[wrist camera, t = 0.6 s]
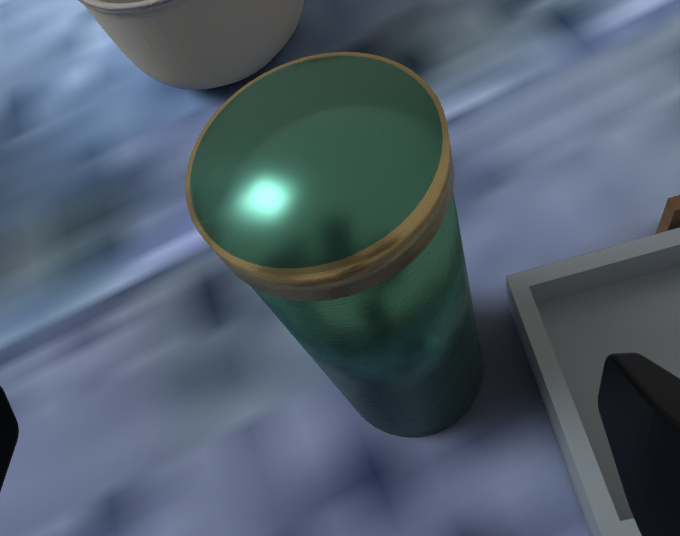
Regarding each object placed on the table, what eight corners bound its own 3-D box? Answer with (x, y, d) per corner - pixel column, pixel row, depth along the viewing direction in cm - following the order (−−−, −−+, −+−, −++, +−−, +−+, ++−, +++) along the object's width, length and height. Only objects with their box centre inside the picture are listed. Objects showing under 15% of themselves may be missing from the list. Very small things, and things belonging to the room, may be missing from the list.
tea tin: (505, 419, 22) (484, 222, 11) (356, 456, 22) (193, 308, 11) (461, 286, 24) (410, 20, 13) (331, 322, 25) (179, 99, 14)
